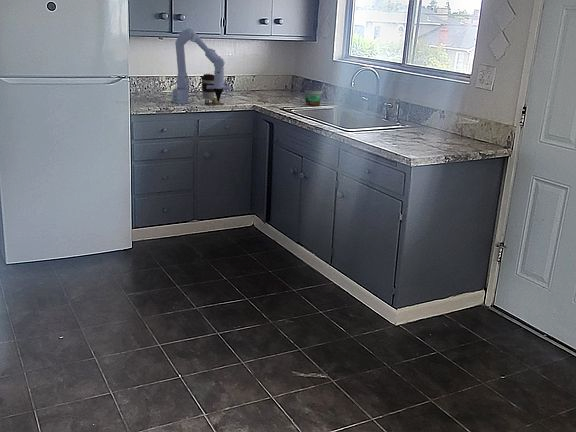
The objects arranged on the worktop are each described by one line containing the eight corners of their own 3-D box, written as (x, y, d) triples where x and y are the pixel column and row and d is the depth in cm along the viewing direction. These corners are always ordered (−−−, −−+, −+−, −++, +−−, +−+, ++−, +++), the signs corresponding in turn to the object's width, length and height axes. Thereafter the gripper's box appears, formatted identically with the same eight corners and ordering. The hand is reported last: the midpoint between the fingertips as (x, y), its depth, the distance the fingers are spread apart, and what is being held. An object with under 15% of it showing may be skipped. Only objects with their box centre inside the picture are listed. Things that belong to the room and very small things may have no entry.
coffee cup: (205, 99, 417) (206, 75, 412) (197, 96, 424) (198, 73, 419) (218, 98, 423) (219, 75, 418) (210, 96, 430) (211, 73, 425)
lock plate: (209, 105, 395) (209, 100, 394) (204, 104, 399) (204, 98, 398) (223, 104, 402) (224, 99, 401) (218, 103, 406) (219, 97, 405)
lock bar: (211, 101, 401) (211, 97, 400) (214, 101, 402) (214, 97, 401) (214, 103, 396) (214, 99, 396) (217, 103, 397) (217, 99, 396)
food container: (306, 106, 419) (307, 90, 415) (303, 104, 424) (304, 89, 421) (324, 106, 422) (325, 91, 419) (321, 105, 427) (322, 90, 424)
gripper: (205, 78, 391) (205, 101, 395) (229, 80, 390) (229, 103, 395) (208, 77, 397) (207, 99, 402) (231, 79, 397) (230, 101, 401)
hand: (218, 101), depth 399 cm, fingers closed
